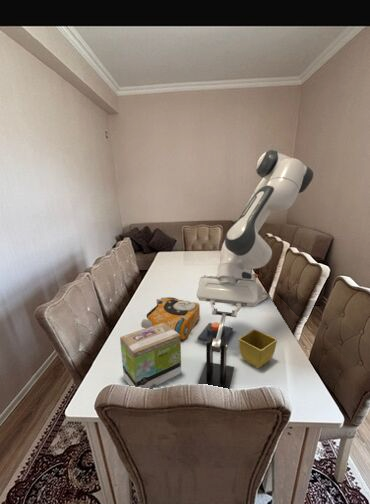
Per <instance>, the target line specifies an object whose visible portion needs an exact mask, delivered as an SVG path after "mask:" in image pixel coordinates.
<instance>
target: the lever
mask: <svg viewBox="0 0 370 504" xmlns="http://www.w3.org/2000/svg"><path fill="white" fill-rule="evenodd" d="M216 314H217V315H216V316H221V318H220V322H219V324H220V325H219V329H218V333H217V337H216V339H215V338H214V339H213V343H212V351H213V353H218V354H219V353H220V354H221V335H222V330H223V326H225V322H226V317H231V318H233V317H232V312H229V311H220V310H217V313H216Z"/></svg>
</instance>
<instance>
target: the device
mask: <svg viewBox="0 0 370 504" xmlns="http://www.w3.org/2000/svg"><path fill="white" fill-rule="evenodd" d="M200 312H201V307H200V304H199V303H198V302H195V301H191V300H184V299H178V298H176V297H171V296H169V297H161V298H157V299H156V305H155V306H154V307H153V308H151V310H150V311H148V312H147V313H146V318H147V319H144V318H143V319H142V320H141V322H140V326H141V329H145V328H148V327H151V326H154V325H157V324H160V323H163V322H164V323H165V324H167V325H168V326H169V327H171V328H172V329H173V330H175V331H176V332H177V333H179V334H180V337H181V340H183V341H184V340H185V339H187V337H188V336H189V334H190V333H191V331H192V329H193V328H194V327H195V326H196V323H197V322H198V321H199V319H200V317H201V315H200V314H201V313H200Z"/></svg>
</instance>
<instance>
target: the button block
mask: <svg viewBox="0 0 370 504" xmlns="http://www.w3.org/2000/svg"><path fill="white" fill-rule="evenodd" d="M212 323H213V322H208V324H207V325H206V326H205V328H204V329H202V331H201V332H200V334H198V336H197V340H198V341H201V342H205V343H206V342H207V340H208V338H209V336H210V335H213V339H214V338H215V339H216V337H217V333H218V331H213V330H211V324H212ZM233 332H234V328H233V327H231V326H226V325H224V326H223V330H222V335H221V343H222V340H223V337H227V340H228V339H229V338H230V336H231V335H232V334H233Z"/></svg>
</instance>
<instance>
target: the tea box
mask: <svg viewBox="0 0 370 504" xmlns="http://www.w3.org/2000/svg"><path fill="white" fill-rule="evenodd" d="M119 339H120V352H121V353H120V354H121V364H122V365H121V366H122V374H123V379H124V380H125V382H126V383H127V384H128V386H129V385H130V386H135V387H141V388H151V389H153V388H155V387H156V386H158V385H160V384H163V383H165V382H167V381H168V380H170V379H172V378H175V377H176V376H178V375H181V374H182V342H181V341H182V339H181V337H180V334H179V333H177V332H176V331H175V330H173V329H172V328H171V327H169V326H168V325H167V324H165V323H164V322H163V323H160V324H157V325H154V326H151V327H148V328H142V329H139V330H137V331H134V332H131V333H128V334H125V335H122V336H120V337H119ZM130 386H129V387H130Z"/></svg>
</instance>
